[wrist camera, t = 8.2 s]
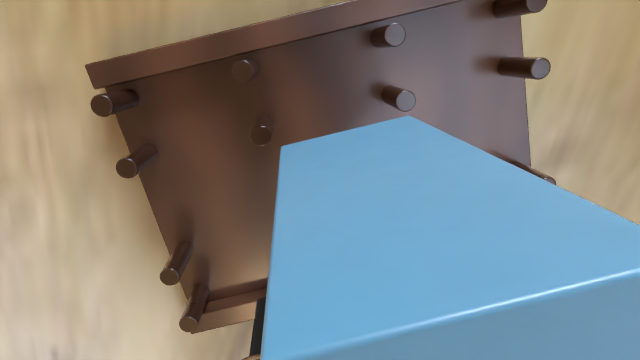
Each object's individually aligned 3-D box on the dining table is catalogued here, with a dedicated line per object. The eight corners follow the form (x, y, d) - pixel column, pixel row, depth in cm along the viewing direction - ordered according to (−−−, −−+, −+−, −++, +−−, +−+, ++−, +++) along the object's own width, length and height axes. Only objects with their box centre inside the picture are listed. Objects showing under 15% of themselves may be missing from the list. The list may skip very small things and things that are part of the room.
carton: (279, 145, 12) (255, 366, 3) (409, 114, 12) (711, 254, 3) (336, 358, 14) (406, 802, 6) (445, 332, 14) (674, 736, 6)
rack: (199, 310, 26) (182, 358, 22) (105, 63, 22) (61, 65, 17) (525, 232, 26) (570, 265, 22) (505, -33, 22) (556, -55, 17)
